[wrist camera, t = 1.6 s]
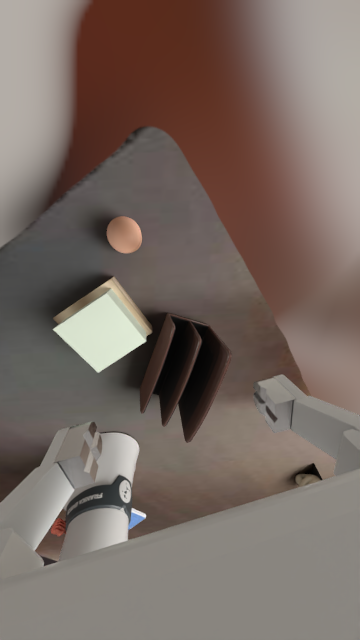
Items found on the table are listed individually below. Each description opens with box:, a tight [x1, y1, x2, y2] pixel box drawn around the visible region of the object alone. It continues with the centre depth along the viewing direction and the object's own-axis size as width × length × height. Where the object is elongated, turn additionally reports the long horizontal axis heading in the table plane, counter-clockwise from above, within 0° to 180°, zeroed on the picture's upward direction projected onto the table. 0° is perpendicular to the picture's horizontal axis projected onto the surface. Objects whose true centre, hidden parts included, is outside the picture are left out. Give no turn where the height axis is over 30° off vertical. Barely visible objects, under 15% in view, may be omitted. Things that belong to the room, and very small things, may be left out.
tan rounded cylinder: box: [107, 216, 142, 253], centre depth 30 cm, size 5×5×5 cm
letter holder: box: [140, 313, 232, 443], centre depth 36 cm, size 10×20×14 cm, turn 159°
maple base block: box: [53, 277, 152, 336], centre depth 35 cm, size 12×12×4 cm
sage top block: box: [53, 288, 146, 372], centre depth 32 cm, size 10×10×4 cm
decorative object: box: [296, 464, 322, 487], centre depth 65 cm, size 12×10×10 cm
